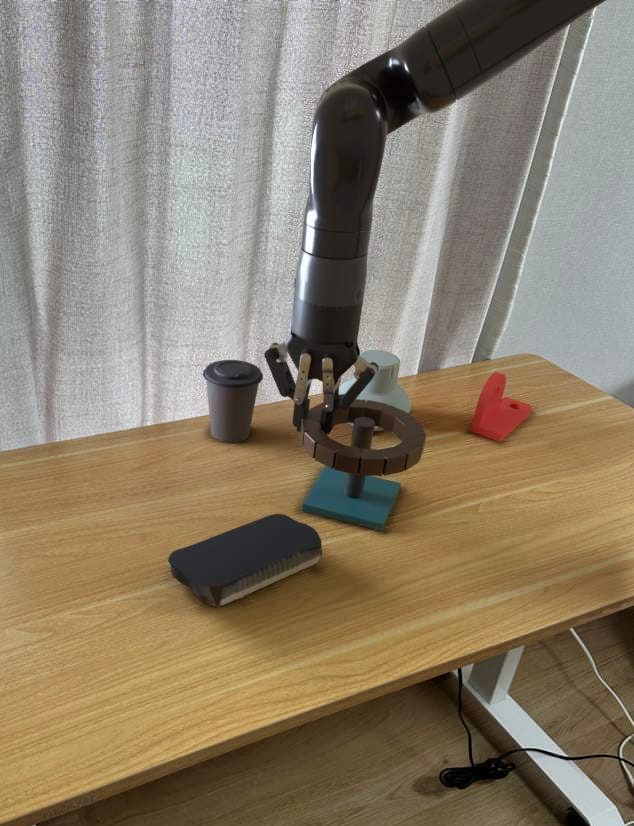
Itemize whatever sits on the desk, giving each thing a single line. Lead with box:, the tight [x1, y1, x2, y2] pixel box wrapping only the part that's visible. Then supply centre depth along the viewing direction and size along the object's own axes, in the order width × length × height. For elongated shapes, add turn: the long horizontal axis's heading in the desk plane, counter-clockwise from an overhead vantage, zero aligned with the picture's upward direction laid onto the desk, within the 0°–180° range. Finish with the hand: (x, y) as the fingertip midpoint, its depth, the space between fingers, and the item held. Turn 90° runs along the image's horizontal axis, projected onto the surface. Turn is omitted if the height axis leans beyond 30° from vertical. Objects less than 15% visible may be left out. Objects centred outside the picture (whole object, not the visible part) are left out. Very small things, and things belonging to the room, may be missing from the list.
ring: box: [299, 399, 427, 477], centre depth 95 cm, size 14×14×2 cm
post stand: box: [301, 417, 402, 532], centre depth 97 cm, size 10×10×11 cm
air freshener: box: [339, 349, 412, 432], centre depth 114 cm, size 11×8×10 cm
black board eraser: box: [167, 513, 323, 607], centre depth 87 cm, size 16×8×4 cm, turn 126°
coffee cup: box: [202, 359, 264, 443], centre depth 110 cm, size 8×8×10 cm
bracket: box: [469, 371, 533, 443], centre depth 117 cm, size 12×4×8 cm, turn 141°
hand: (312, 431), depth 97 cm, fingers closed on ring, 2 cm apart
